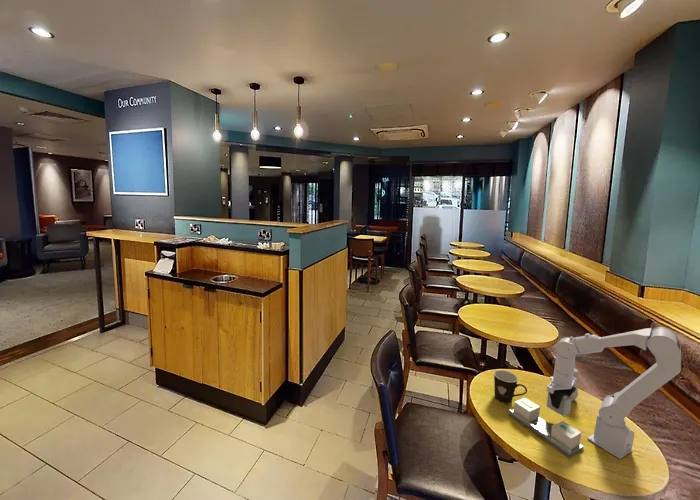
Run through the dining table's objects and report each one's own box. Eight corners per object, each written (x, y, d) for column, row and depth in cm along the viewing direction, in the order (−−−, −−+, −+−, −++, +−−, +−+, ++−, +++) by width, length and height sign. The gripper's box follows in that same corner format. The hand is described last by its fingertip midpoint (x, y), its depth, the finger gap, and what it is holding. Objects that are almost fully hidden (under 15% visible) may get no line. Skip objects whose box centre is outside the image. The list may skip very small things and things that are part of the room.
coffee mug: (487, 394, 132) (489, 372, 130) (502, 389, 135) (504, 368, 133) (510, 412, 121) (513, 388, 120) (526, 406, 125) (529, 383, 123)
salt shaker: (571, 394, 133) (576, 365, 131) (580, 403, 127) (585, 373, 125) (557, 393, 134) (561, 364, 131) (564, 401, 128) (569, 372, 126)
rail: (583, 449, 104) (584, 443, 104) (569, 457, 100) (570, 451, 100) (521, 408, 123) (522, 403, 123) (507, 414, 120) (508, 409, 119)
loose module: (569, 412, 114) (571, 397, 113) (563, 416, 113) (565, 400, 112) (553, 403, 120) (554, 388, 119) (546, 406, 118) (548, 391, 117)
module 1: (538, 417, 117) (540, 406, 116) (528, 422, 114) (529, 411, 113) (523, 407, 122) (524, 397, 121) (513, 412, 119) (514, 401, 119)
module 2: (579, 444, 104) (581, 432, 104) (569, 450, 102) (571, 438, 101) (560, 432, 110) (562, 420, 109) (550, 437, 107) (552, 425, 106)
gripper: (564, 361, 120) (559, 393, 123) (540, 370, 114) (535, 404, 116) (584, 370, 114) (579, 404, 116) (560, 380, 108) (555, 416, 110)
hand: (558, 405), depth 116 cm, fingers closed on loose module, 4 cm apart
